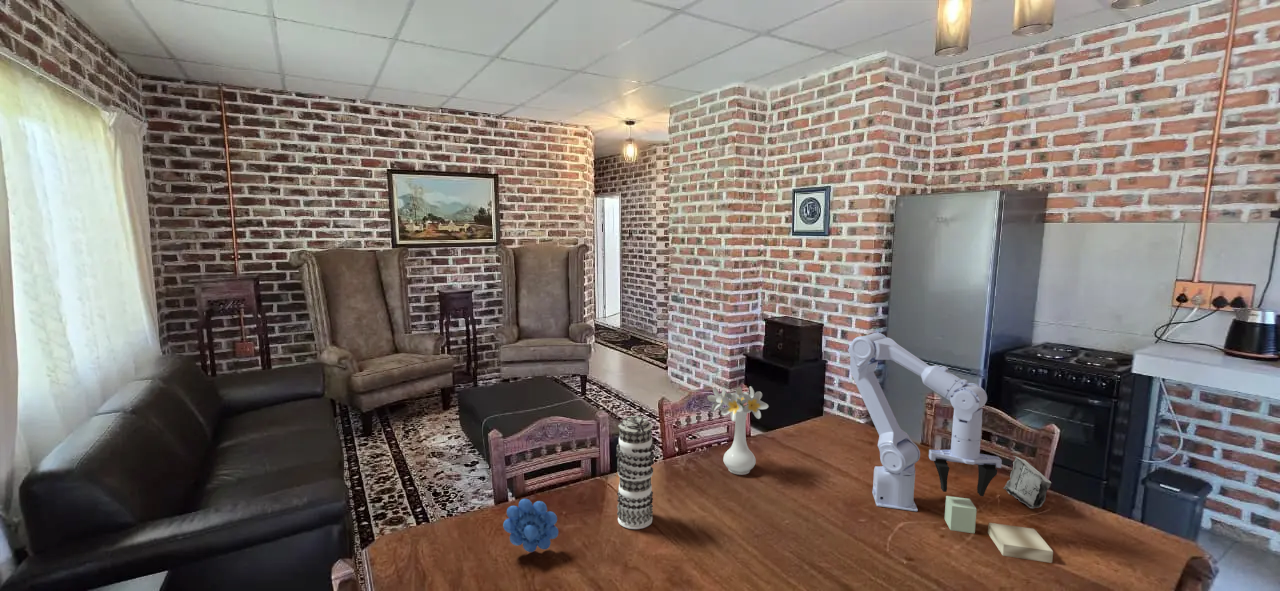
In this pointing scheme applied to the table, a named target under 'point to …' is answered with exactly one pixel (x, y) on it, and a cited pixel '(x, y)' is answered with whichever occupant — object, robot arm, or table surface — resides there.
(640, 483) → the decorative candle
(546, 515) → the blue flower
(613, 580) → the table surface
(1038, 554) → the cream block
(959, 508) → the sage block
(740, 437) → the flower vase
